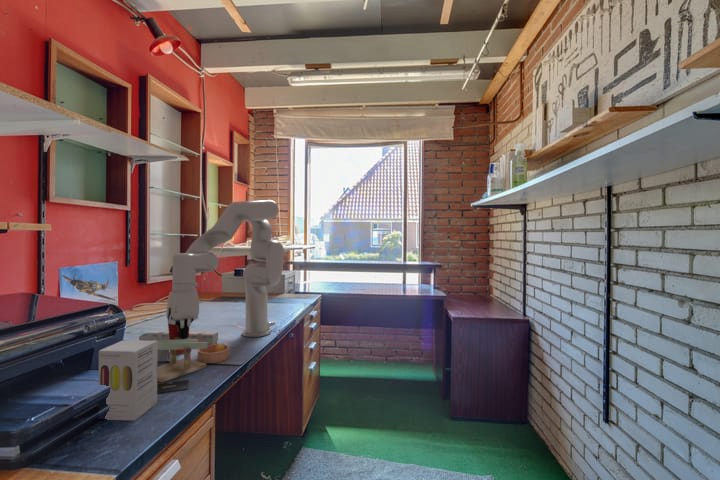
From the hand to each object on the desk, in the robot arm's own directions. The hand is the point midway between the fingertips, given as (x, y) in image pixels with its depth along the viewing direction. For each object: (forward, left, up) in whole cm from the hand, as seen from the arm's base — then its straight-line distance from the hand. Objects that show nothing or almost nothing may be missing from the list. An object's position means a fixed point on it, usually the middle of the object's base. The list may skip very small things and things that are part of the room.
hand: (183, 337), depth 126 cm
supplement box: (+29, +25, -8) cm, 39 cm away
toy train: (-9, -18, -8) cm, 22 cm away
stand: (+8, +9, -7) cm, 14 cm away
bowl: (-6, +9, -7) cm, 13 cm away
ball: (-8, +9, -5) cm, 14 cm away
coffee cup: (-3, -8, -7) cm, 11 cm away
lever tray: (+7, +5, -4) cm, 10 cm away
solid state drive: (+16, +20, -8) cm, 27 cm away
